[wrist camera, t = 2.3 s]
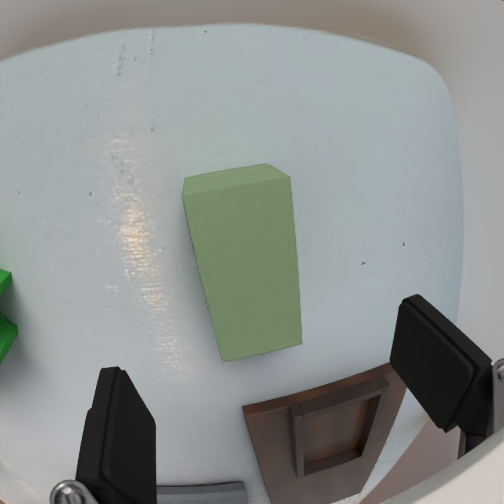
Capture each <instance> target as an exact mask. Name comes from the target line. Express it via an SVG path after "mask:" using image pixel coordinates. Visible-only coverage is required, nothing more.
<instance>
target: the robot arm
mask: <svg viewBox="0 0 504 504" xmlns="http://www.w3.org/2000/svg"><path fill="white" fill-rule="evenodd" d="M491 362H492V360H491V359H490V358H489V357H488V356H487V355H486V354H485V353H484V352H483V351H482V350H481V349H480V348H479V347H478V346H477V345H476V344H474V342H473V341H471V340H470V339H469V338H468V337H467V336H466V335H465V334H464V333H463V332H462V331H461V330H459V329H458V328H457V327H456V326H455V325H454V324H453V323H452V322H451V321H449V320H448V319H447V318H446V317H445V316H444V315H443V314H442V313H440V312H439V311H438V310H437V309H436V308H435V307H434V306H432V305H431V304H430V303H429V302H428V301H427V300H425V299H424V298H423V297H422V296H421V295H419V294H416V295H413V296H410V297H407V298H405V299H403V301H402V304H400V306H399V310H398V316H397V322H396V328H395V334H394V339H393V345H392V350H391V355H390V364H391V366H392V368H393V369H394V370H395V372H396V373H397V374H398V375H399V377H400V378H401V379H402V381H403V382H404V383H405V385H406V386H407V387H408V389H409V390H410V391H411V393H412V394H413V395H414V396H415V398H416V399H417V400H418V402H419V403H420V404H421V406H422V407H423V409H424V410H425V411H426V413H427V414H428V415H429V417H430V418H431V419H432V421H433V422H434V423H435V425H436V426H437V427H438V428H442V429H443V430H444V432H445V433H447V432H448V431H450V430H452V429H453V428H454V427H456V426H457V425H458V427H459V428H460V429H461V432H460V442H459V450H458V458H457V461H455V462H454V463H452V464H450V465H449V466H447V467H446V468H444V469H443V470H441V471H439V472H438V473H436V474H435V475H433V476H431V477H430V478H428V479H426V480H424V481H423V482H421V483H419V484H417V485H415V486H414V487H412V488H410V489H408V490H406V491H404V492H402V493H400V494H398V495H396V496H394V497H392V498H390V499H388V500H386V501H384V502H382V503H379V504H504V358H503V359H500V360H498V361H497V362H496V363H495V364H494V366H492V365H491ZM49 499H50V504H157V486H156V424H155V421H154V418H153V416H152V415H151V413H150V412H149V410H148V408H147V407H146V405H145V403H144V402H143V400H142V398H141V397H140V395H139V393H138V392H137V390H136V388H135V386H134V385H133V383H132V381H131V379H130V377H129V376H128V374H127V372H126V371H125V370H121V369H120V368H119V367H109V368H102V369H101V371H100V374H99V378H98V382H97V386H96V390H95V395H94V399H93V404H92V408H90V409H89V410H88V412H87V416H86V420H85V425H84V430H83V435H82V441H81V446H80V452H79V458H78V464H77V471H76V478H75V480H64V481H62V482H60V483H58V484H57V485H56V486H55V487H54V488H53V490H52V491H51V494H50V498H49Z"/></svg>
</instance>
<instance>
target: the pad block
mask: <svg viewBox="0 0 504 504" xmlns="http://www.w3.org/2000/svg"><path fill="white" fill-rule="evenodd" d="M182 198H183V203H184V208H185V213H186V217H187V222H188V227H189V231H190V236H191V240H192V245H193V249H194V253H195V258H196V262H197V266H198V270H199V274H200V279H201V283H202V287H203V291H204V295H205V299H206V303H207V307H208V310H209V314H210V318H211V322H212V326H213V329H214V333H215V337H216V341H217V344H218V348H219V351H220V355H221V359H222V362H226V361H231V360H236V359H241V358H246V357H250V356H255V355H259V354H263V353H268V352H272V351H276V350H280V349H284V348H288V347H292V346H296V345H300V344H302V328H301V309H300V293H299V277H298V263H297V250H296V238H295V226H294V214H293V204H292V193H291V183H290V176H288V175H287V174H285V173H283V172H281V171H280V170H278V169H276V168H274V167H272V166H271V165H269V164H261V165H254V166H248V167H242V168H236V169H230V170H224V171H219V172H213V173H208V174H203V175H198V176H193V177H188V178H185V180H184V186H183V193H182Z"/></svg>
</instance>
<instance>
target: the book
mask: <svg viewBox="0 0 504 504" xmlns="http://www.w3.org/2000/svg"><path fill="white" fill-rule="evenodd" d="M157 504H248V501H247V495H246V491H245V487H244V483H243V482H239V483H230V484H220V485H208V486H189V487H157Z"/></svg>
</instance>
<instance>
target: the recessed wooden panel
mask: <svg viewBox="0 0 504 504" xmlns="http://www.w3.org/2000/svg"><path fill="white" fill-rule="evenodd" d="M406 389H407V386H406V385H405V383H404V382H403V381H402V379H401V378H400V377H399V375H398V374H397V373H396V372H395V370H394V369H393V368H392V366H391V364H390V362H389V363H387V364H384V365H382V366H379V367H376V368H374V369H371V370H368V371H365V372H363V373H360V374H357V375H354V376H351V377H348V378H345V379H342V380H339V381H336V382H333V383H330V384H327V385H323V386H320V387H317V388H313V389H310V390H307V391H303V392H299V393H296V394H292V395H288V396H284V397H280V398H276V399H272V400H268V401H264V402H260V403H255V404H251V405H246V406H242V409H243V413H244V418H245V421H246V424H247V428H248V431H249V434H250V438H251V441H252V444H253V448H254V451H255V454H256V457H257V460H258V464H259V467H260V470H261V473H262V476H263V479H264V482H265V485H266V488H267V491H268V494H269V497H270V500H271V503H272V504H330V503H333V502H336V501H339V500H342V499H345V498H347V497H350V496H353V495H355V494H358V493H361V491H362V489H363V487H364V485H365V484H366V482H367V480H368V478H369V476H370V474H371V472H372V470H373V468H374V466H375V464H376V462H377V460H378V458H379V456H380V453H381V451H382V449H383V447H384V445H385V442H386V440H387V438H388V435H389V433H390V431H391V428H392V426H393V423H394V421H395V418H396V416H397V413H398V411H399V408H400V405H401V403H402V400H403V397H404V394H405V392H406Z"/></svg>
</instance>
